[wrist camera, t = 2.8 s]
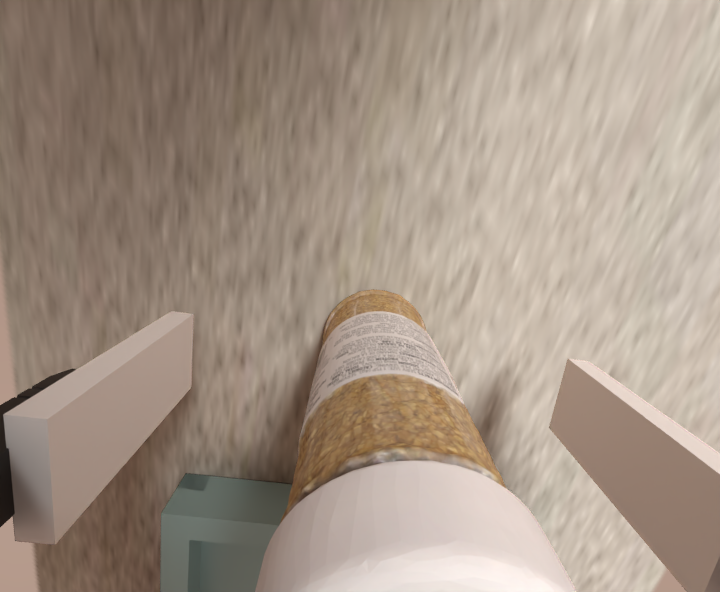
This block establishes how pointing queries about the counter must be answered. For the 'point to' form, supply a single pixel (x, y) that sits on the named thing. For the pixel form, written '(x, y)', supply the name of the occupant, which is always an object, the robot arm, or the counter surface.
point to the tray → (218, 533)
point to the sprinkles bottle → (398, 475)
